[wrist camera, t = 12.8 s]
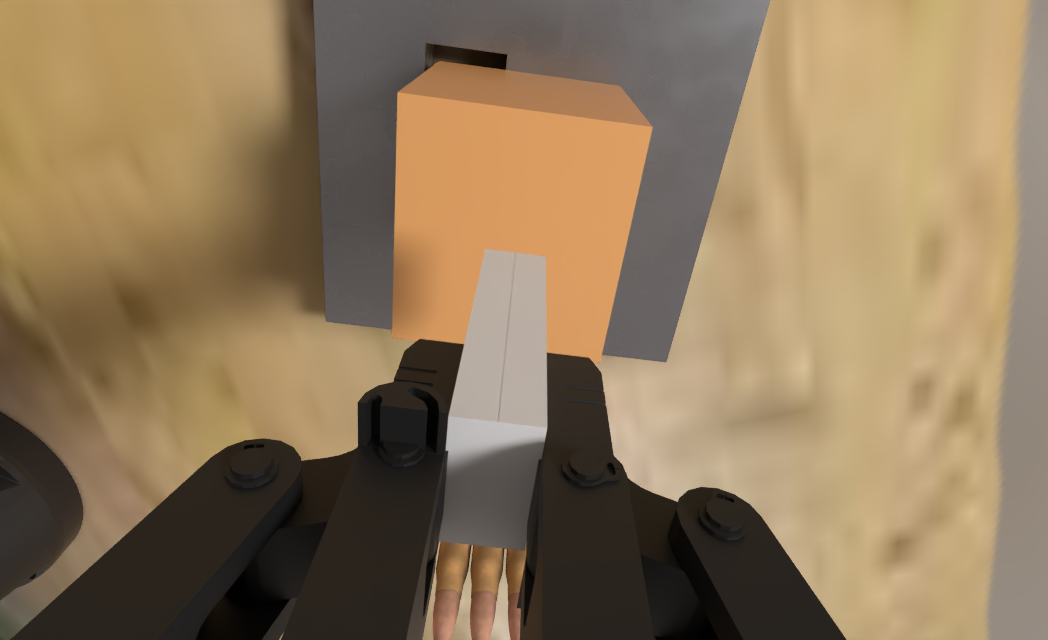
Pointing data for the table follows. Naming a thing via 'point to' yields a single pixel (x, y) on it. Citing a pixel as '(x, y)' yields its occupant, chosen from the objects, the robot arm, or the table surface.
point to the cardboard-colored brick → (513, 196)
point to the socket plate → (545, 49)
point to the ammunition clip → (476, 588)
